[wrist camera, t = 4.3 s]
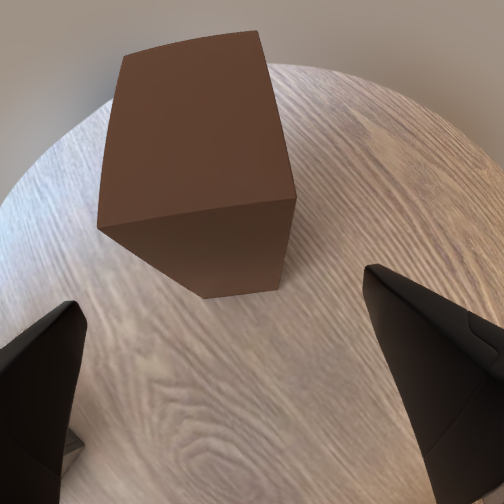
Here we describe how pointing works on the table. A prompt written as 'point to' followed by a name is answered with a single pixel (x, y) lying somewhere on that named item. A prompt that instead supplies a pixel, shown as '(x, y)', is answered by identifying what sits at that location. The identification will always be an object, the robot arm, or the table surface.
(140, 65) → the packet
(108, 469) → the table surface
